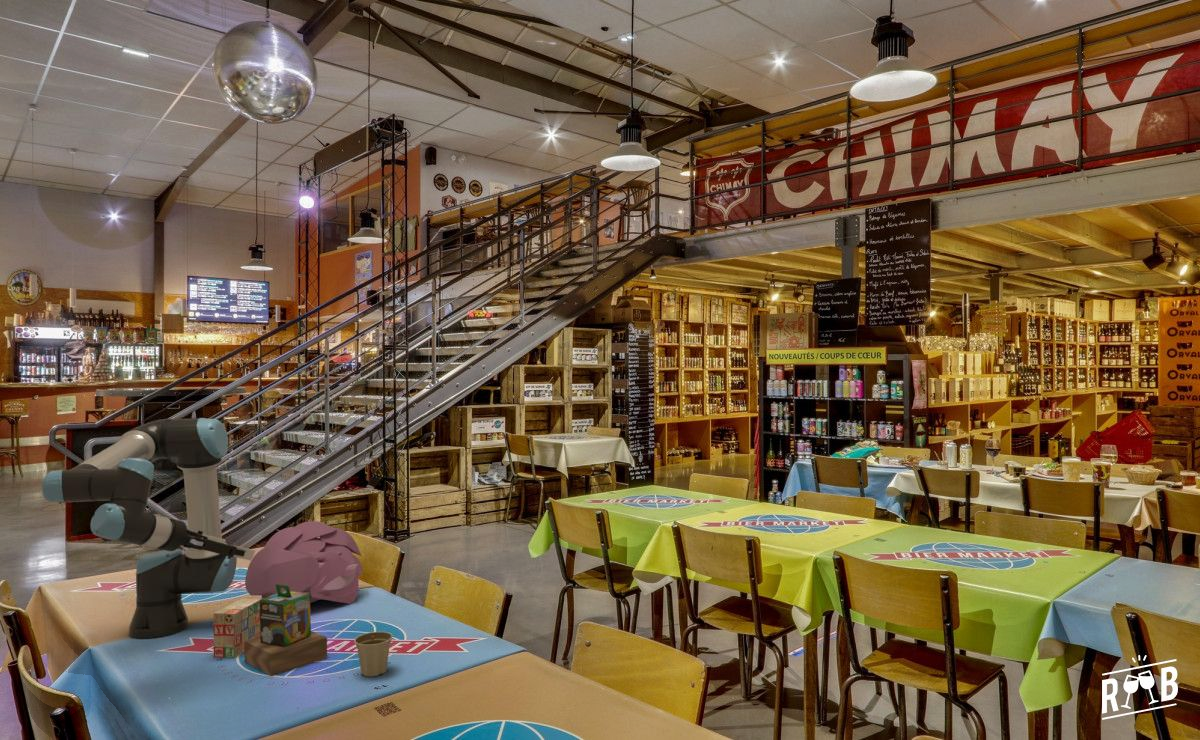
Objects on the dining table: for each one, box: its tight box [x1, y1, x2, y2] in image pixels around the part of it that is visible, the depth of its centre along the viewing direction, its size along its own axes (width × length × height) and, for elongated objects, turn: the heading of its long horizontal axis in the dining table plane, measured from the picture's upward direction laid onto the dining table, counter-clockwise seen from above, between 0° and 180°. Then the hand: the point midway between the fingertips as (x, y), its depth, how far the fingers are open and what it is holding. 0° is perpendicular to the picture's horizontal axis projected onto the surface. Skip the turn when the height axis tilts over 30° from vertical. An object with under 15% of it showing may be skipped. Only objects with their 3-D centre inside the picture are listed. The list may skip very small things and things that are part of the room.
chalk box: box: [260, 584, 312, 647], centre depth 190 cm, size 9×9×15 cm
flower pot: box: [353, 631, 394, 677], centre depth 181 cm, size 9×9×9 cm
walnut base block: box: [244, 630, 328, 677], centre depth 189 cm, size 15×15×6 cm
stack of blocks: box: [212, 598, 260, 659], centre depth 202 cm, size 21×6×12 cm, turn 174°
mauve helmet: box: [244, 520, 364, 605], centre depth 239 cm, size 36×24×29 cm
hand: (237, 549), depth 191 cm, fingers open, 13 cm apart
